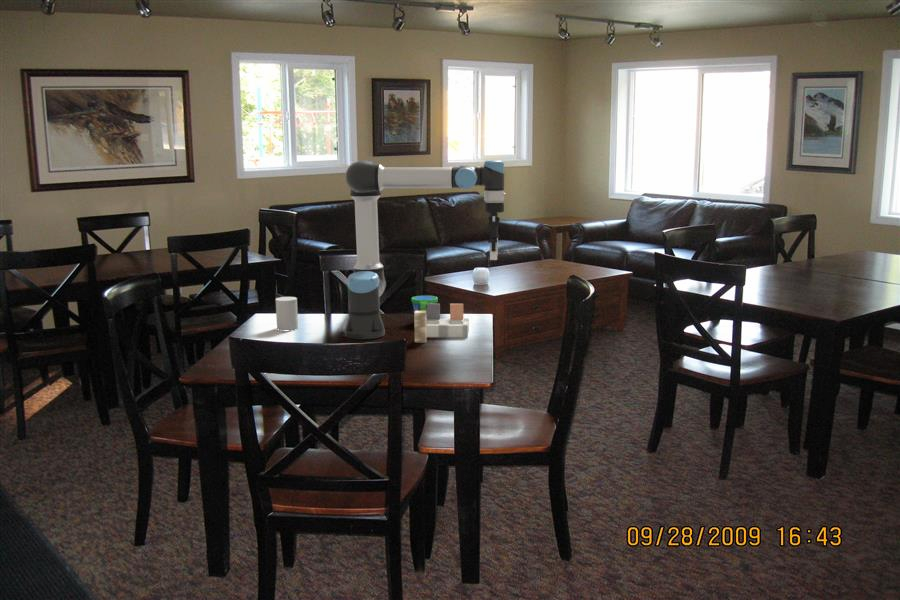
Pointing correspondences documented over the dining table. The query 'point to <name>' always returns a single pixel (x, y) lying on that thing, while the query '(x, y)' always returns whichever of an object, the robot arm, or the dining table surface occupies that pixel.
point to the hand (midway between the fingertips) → (494, 257)
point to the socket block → (446, 322)
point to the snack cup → (423, 302)
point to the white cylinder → (286, 313)
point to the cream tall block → (420, 326)
